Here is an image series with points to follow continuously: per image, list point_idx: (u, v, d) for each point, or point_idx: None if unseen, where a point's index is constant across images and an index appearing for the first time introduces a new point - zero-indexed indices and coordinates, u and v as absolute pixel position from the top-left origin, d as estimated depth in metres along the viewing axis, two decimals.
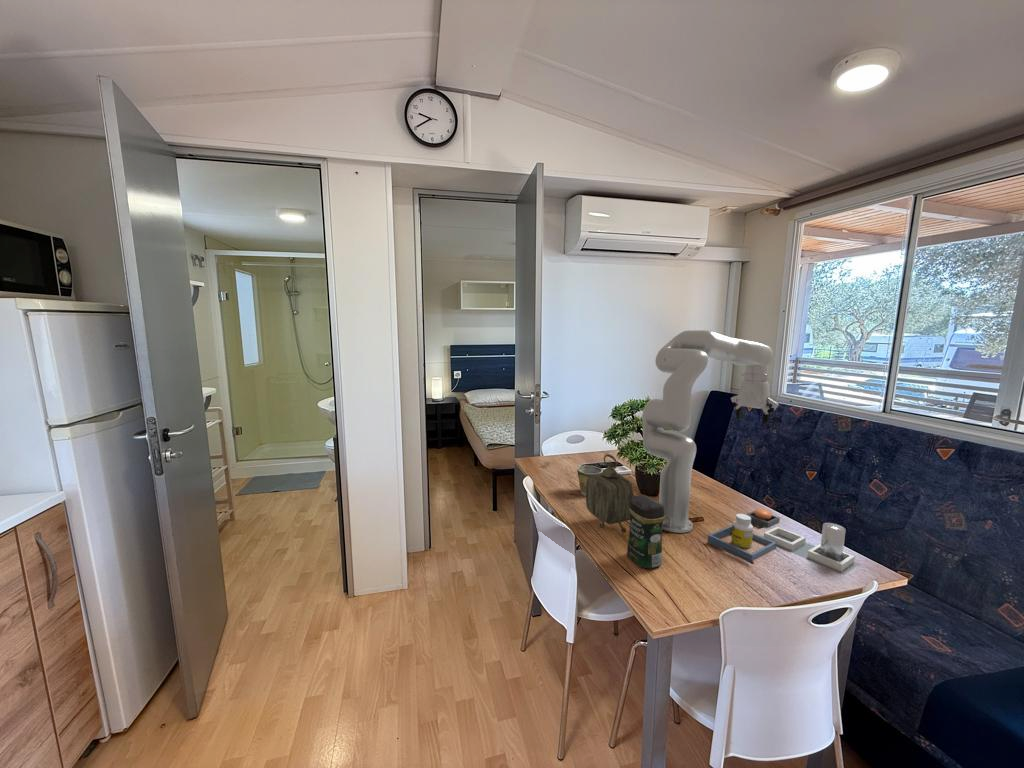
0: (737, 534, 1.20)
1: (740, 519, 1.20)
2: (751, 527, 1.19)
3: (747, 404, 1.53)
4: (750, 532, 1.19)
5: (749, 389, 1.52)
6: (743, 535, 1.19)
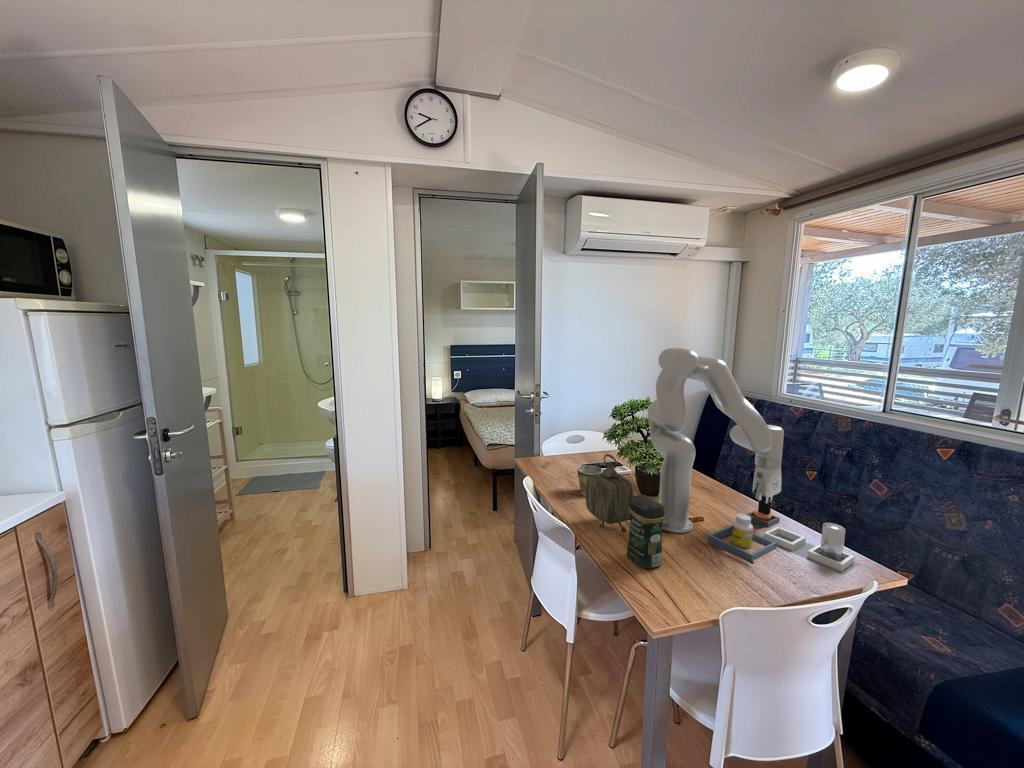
0: (737, 534, 1.20)
1: (740, 519, 1.20)
2: (751, 527, 1.19)
3: (773, 493, 1.33)
4: (750, 532, 1.19)
5: (775, 476, 1.33)
6: (743, 535, 1.19)
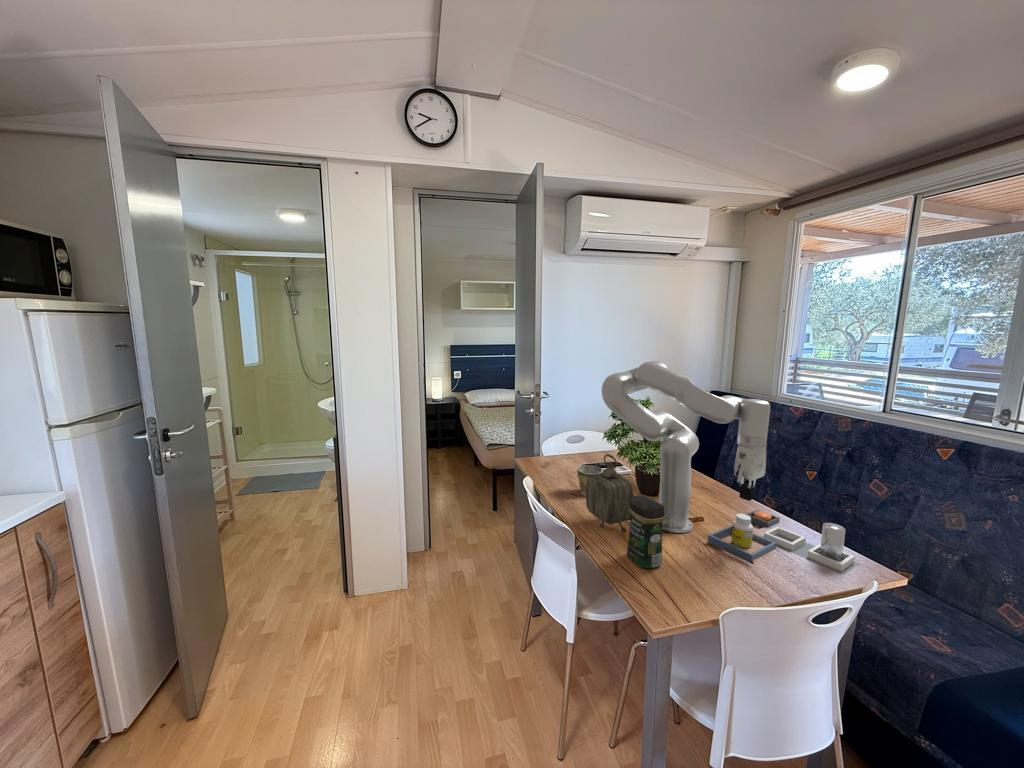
0: (737, 534, 1.20)
1: (740, 519, 1.20)
2: (751, 527, 1.19)
3: (757, 476, 1.18)
4: (750, 532, 1.19)
5: (759, 457, 1.17)
6: (743, 535, 1.19)
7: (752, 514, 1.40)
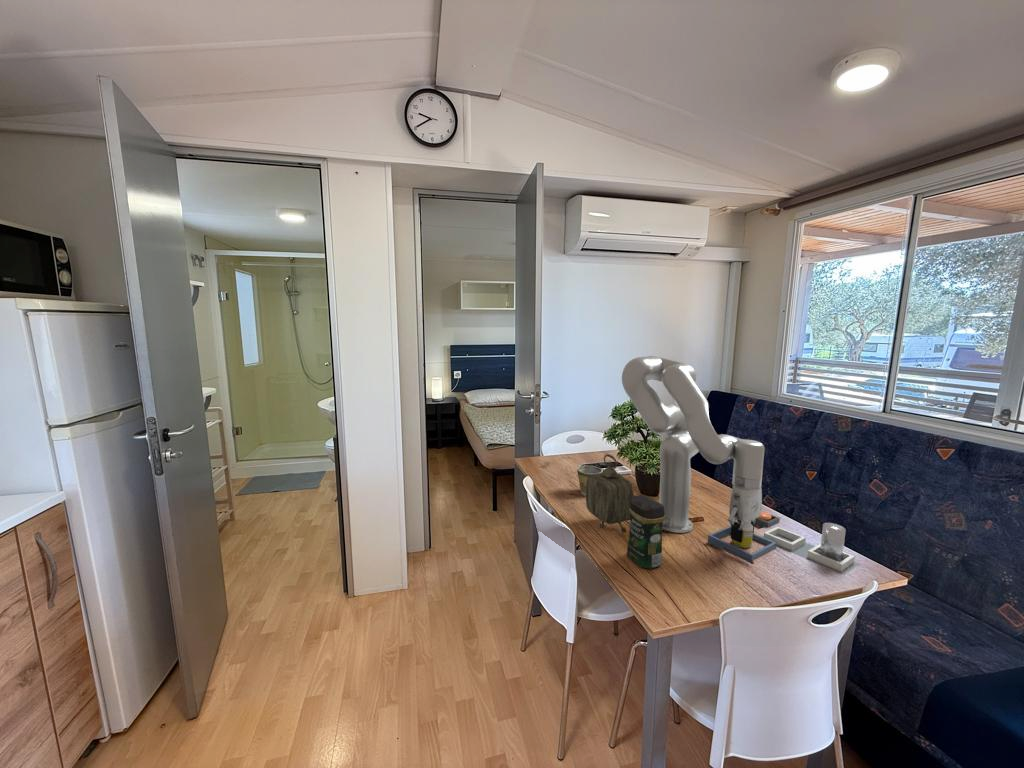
0: None
1: None
2: (751, 527, 1.19)
3: (752, 517, 1.18)
4: (750, 532, 1.19)
5: (754, 498, 1.17)
6: (743, 535, 1.19)
7: None
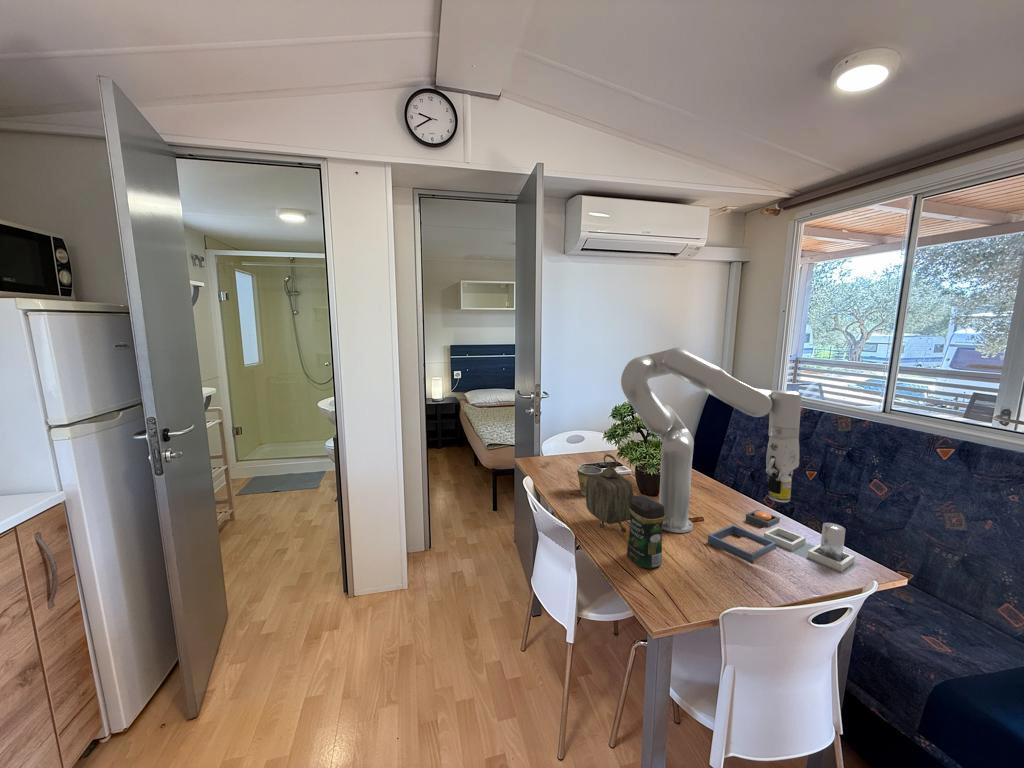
0: None
1: None
2: (789, 478, 1.18)
3: (790, 468, 1.17)
4: (788, 483, 1.18)
5: (792, 448, 1.16)
6: (782, 486, 1.18)
7: (752, 514, 1.40)
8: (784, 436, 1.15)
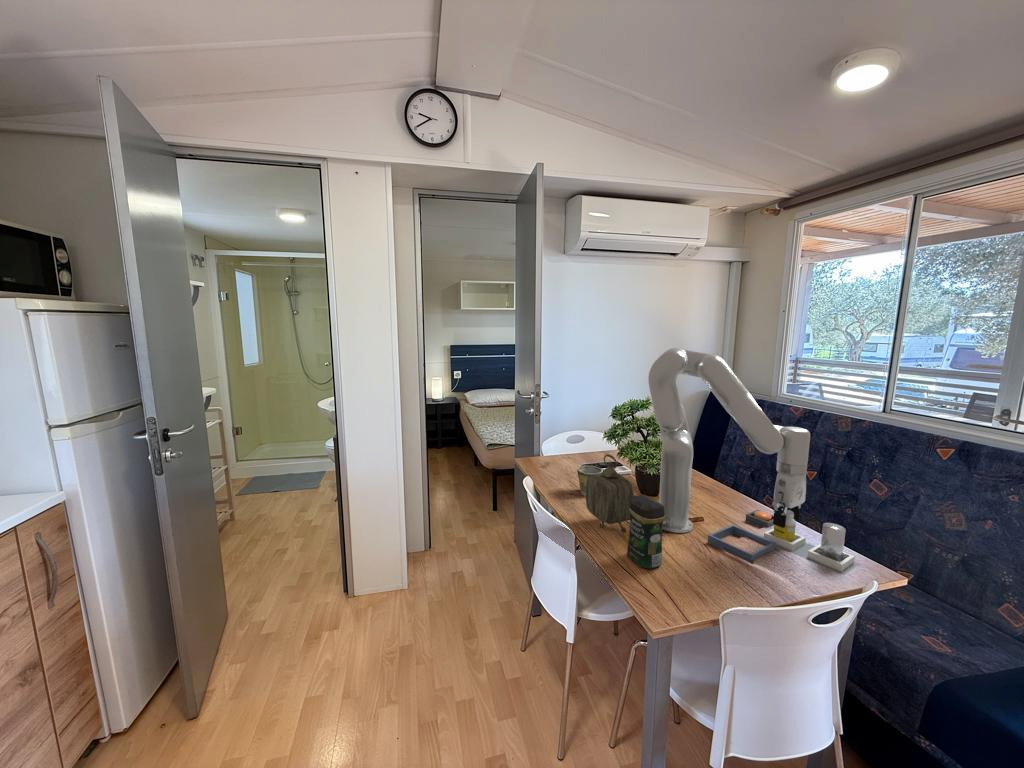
0: (780, 528, 1.21)
1: None
2: (794, 522, 1.21)
3: (797, 503, 1.19)
4: (793, 527, 1.20)
5: (799, 484, 1.18)
6: (786, 529, 1.20)
7: (752, 514, 1.40)
8: (792, 473, 1.17)
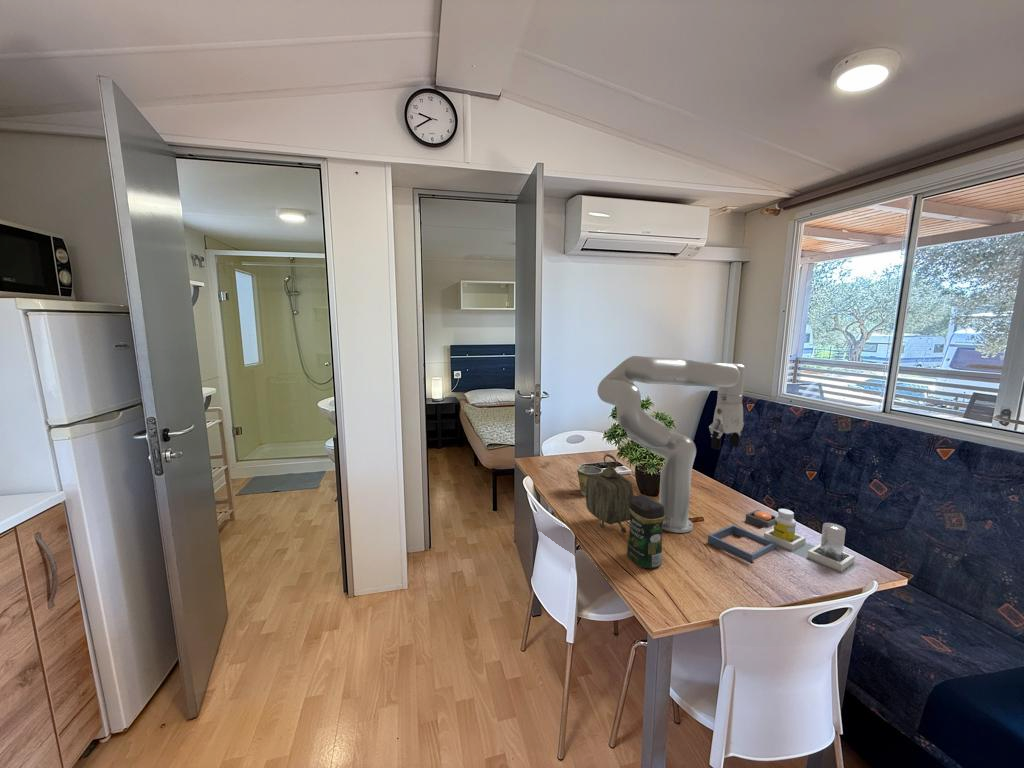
0: (780, 528, 1.21)
1: (783, 514, 1.21)
2: (794, 522, 1.21)
3: (732, 430, 1.35)
4: (793, 527, 1.20)
5: (735, 413, 1.34)
6: (786, 529, 1.20)
7: (752, 514, 1.40)
8: (728, 402, 1.33)
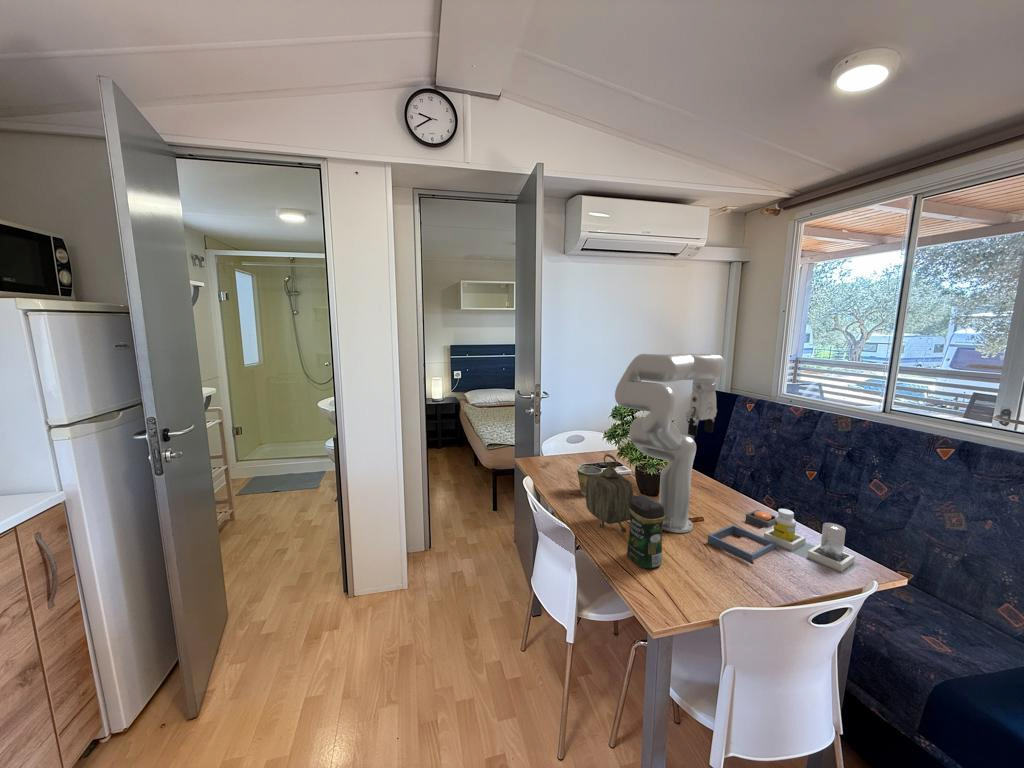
0: (780, 528, 1.21)
1: (783, 514, 1.21)
2: (794, 522, 1.21)
3: (707, 416, 1.43)
4: (793, 527, 1.20)
5: (709, 400, 1.43)
6: (786, 529, 1.20)
7: (752, 514, 1.40)
8: (702, 390, 1.42)
